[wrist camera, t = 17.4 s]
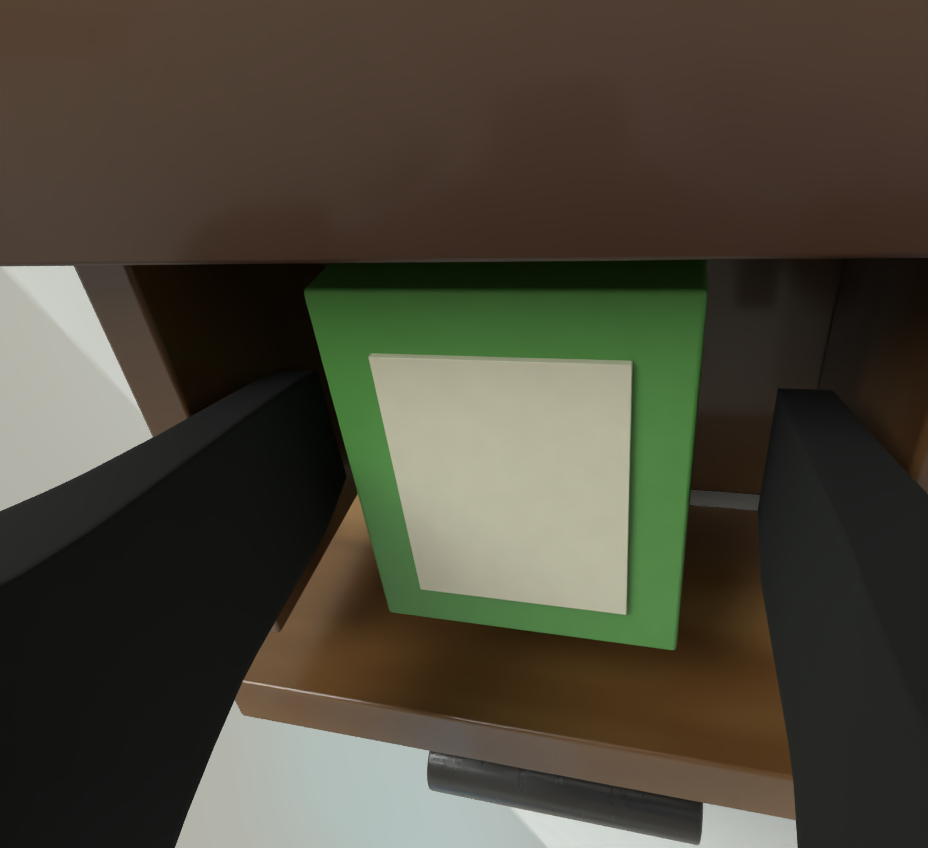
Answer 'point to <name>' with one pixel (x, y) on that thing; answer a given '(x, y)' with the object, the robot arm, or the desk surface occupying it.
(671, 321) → the snack box
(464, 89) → the cabinet
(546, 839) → the desk surface
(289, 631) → the drawer
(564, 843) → the desk surface
